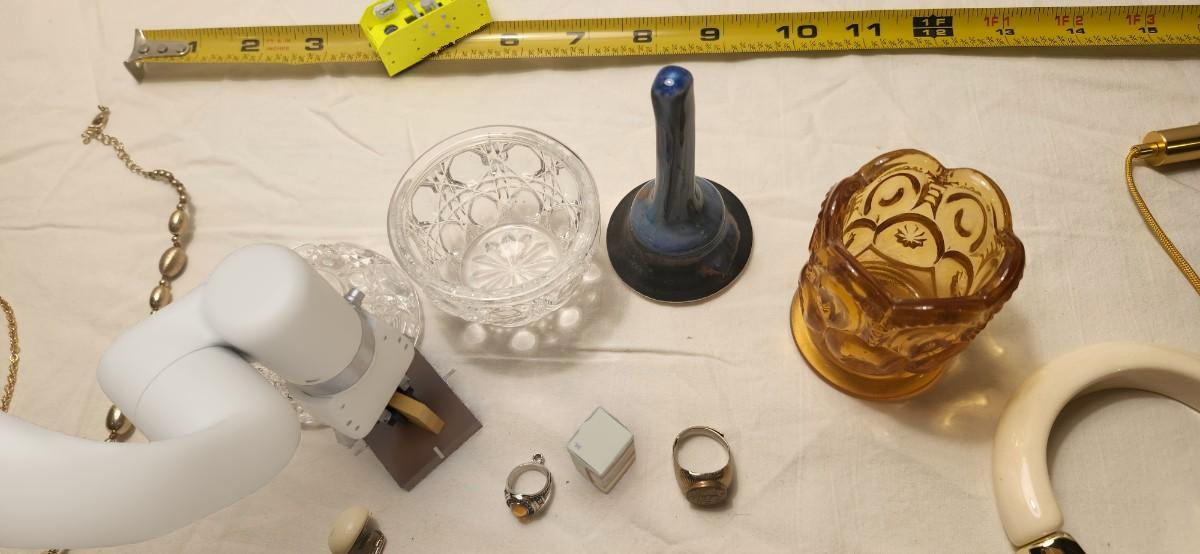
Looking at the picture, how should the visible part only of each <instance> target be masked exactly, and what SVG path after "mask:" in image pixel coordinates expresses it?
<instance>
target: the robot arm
mask: <svg viewBox="0 0 1200 554" xmlns="http://www.w3.org/2000/svg"><path fill="white" fill-rule="evenodd" d="M365 297H366V294H365V293H364V292H363V291H361V290H360V289H358V288H355V287H353V286H351V287H350V288H349V289H348V291H347V293H344V294H343V295H342V294H341V293H340V292H339V291H338V290H337V289H336V288H335V287H334V286H333V285H332V284H331V283H330V282H328V280H327V279H326V278H325V277H324V276H323V275H322V274H321V273H320V272H319V271H317V269H316V268H315V267H314V266H313V265H312V264H311V263H310V262H309V261H308V260H307V259H305V258H304V257H303V256H302V255H301V254H300V253H299V252H298V251H296V250H294V249H293V248H291V247H288V246H286V245H283V244H279V243H272V242H259V243H258V242H257V243H252V244H250V245H245V246H243V247H241V248H238V249H235V250H234V251H232V252H231V253H229V254H228V255H226V256H225V257H224V258H222V260H221V261H219V262H218V264H216V265H215V267H214V268H213V269H212V271H211V272H210V273H209V275H208V276H207V278H206V280H205V281H204V282H202V283H200V284H199V285H197V286H196V287H195V288H193V289H192V290H189V292H187V293H185V294H183V295H182V296H180V297H179V298H177V299H175V300H173V301H172V302H169V303H167V304H166V305H165V306H163V307H161V308H160V309H158V310H156V311H155V312H153V313H151V314H150V315H148V316H146V317H144V318H142V319H141V320H139V321H138V322H136V323H135V324H133V325H131V326H129V328H127V329H126V330H124V331H123V332H122V333H121V334H119V335H118V336H117V337H116V338H115V339H113V341H111V343H110V344H109V345H108V346H107V347H106V348H105V350H104V351H103V352H102V354H101V356H100V357H99V360H98V363H97V366H96V379H97V383H98V385H99V387H100V389H101V391H102V393H103V394H104V395H105V396H106V397H107V399H108V401H110V402H111V403H112V405H113V406H115V408H117V410H118V411H119V412H121V414H122V415H123V416H124V417H125V418H126V419H127V420H128V421H129V422H130V423H131V424H132V425H133V426H134V427H135V428H136V429H137V430H138V431H139V432H140V433H141V434H142V435H143V437H145V438H146V440H147V442H146V441H145V442H141V441H140V442H121V441H120V442H118V441H105V440H98V439H93V438H86V437H80V436H76V435H72V434H68V433H64V432H60V431H57V430H54V429H51V428H48V427H44V426H41V425H39V424H36V423H34V422H31V421H28V420H26V419H24V418H21V417H18V416H17V415H14V414H11V413H10V412H9V413H8V412H6V411H3V410H1V409H0V548H1V549H14V550H31V551H33V550H35V551H37V550H39V551H40V550H41V551H42V550H43V551H48V550H51V551H53V550H86V549H102V548H104V549H105V548H116V547H122V546H129V545H136V544H139V543H143V542H147V541H151V540H155V539H157V538H160V537H163V536H167V535H168V534H171V533H173V532H176V531H178V530H180V529H182V528H184V527H187V526H189V525H191V524H194V523H196V522H198V521H201V520H203V519H205V518H207V517H209V516H211V515H214V514H216V513H218V512H220V511H222V510H224V509H227V508H228V507H230V506H232V505H233V506H234V504H236V503H238V502H240V501H242V500H244V499H245V498H247V497H249V496H251V495H252V494H255V493H256V492H257V491H259V490H261V488H264V486H266V485H268V484H269V483H270V482H272V480H274V479H275V478H276V477H277V476H278V475H279V474H280V473H282V471H283V470H284V469H285V468H286V467H287V465H289V463H290V461H291V460H292V459H293V457H294V456H295V454H296V452H297V450H298V447H299V445H300V441H301V436H302V423H301V420H300V417H299V414H298V412H297V410H296V408H295V407H294V405H293V404H292V403H291V400H289V399H288V397H286V396H285V395H284V394H283V393H282V392H281V391H280V390H279V388H278V387H277V386H275V385H274V384H273V383H272V382H271V381H270V380H269V379H268V378H266V376H264V375H263V373H261V372H260V371H259V370H258V369H257V368H256V367H255V366H254V365H252V364H259V365H261V366H263V367H264V368H266V369H267V370H269V371H270V372H272V373H274V374H276V376H278V377H280V378H282V379H283V380H285V383H284V385H285V389H286V391H287V392H288V394H289V396H290V398H291V399H292V400H293V402H295V403H296V405H297V406H298V407H300V409H302V410H303V411H304V413H306V414H308V415H309V416H310V417H312V418H313V419H315V420H316V422H318V423H320V424H322V425H323V426H325V427H327V428H330V427H331V428H332V430H333V433H334V435H335V439H336V441H337V443H338V444H339V445H341V446H342V447H345V448H347V449H352V448H353V447H354V446H355V445H356V444H357V442H358V441H359V440H361V439H363V437H365V436H366V435H367V434H368V433H369V432H370V431H371V430H372V428H373V427H374V426H375V425H377V424H378V423H379V422H382V423H384V424H387V425H390V426H392V427H393V426H394V424H395V422H398V423H400V424H403V425H405V426H407V424H408V422H409V421H408V418H406V417H405V416H404V415H402V414H401V413H400V412H399V411H397V410H396V409H393V408H391V407H389V406H387V404H388V402H389V400H390V399H391V397H392V395H393V394H394V392H395V391H397V392H399V393H401V394H403V395H405V396H407V397H409V398H411V399H414V400H416V401H418V402H420V401H419V400H418V399H417V398H416V397H414V396H413V395H412V393H413V391H414V389H413V388H412V387H411V386H409V385H410V379H409V378H408V377H407V370H408V368H409V366H410V364H411V362H412V360H413V357H414V354H415V351H414V347H415V343H416V338H415V337H413V336H411V335H409V334H406V333H403V332H400V331H399V330H398V329H397V328H396V327H394V326H393V325H391V324H390V323H389V322H387V321H386V320H383V319H382V318H381V317H379V316H377V315H376V314H374V313H372V312H370V311H369V310H367V308H364V307H362V306H363V305H362V304H363V303H362V302H363V300H364V298H365ZM413 346H414V347H413Z"/></svg>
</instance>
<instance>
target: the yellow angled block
mask: <svg viewBox="0 0 1200 554" xmlns="http://www.w3.org/2000/svg"><path fill="white" fill-rule="evenodd" d="M387 406H389V407H391V408H393V409H396V410H397V411H399V412H400V413H401V414H402V415H404V416H405V417H406V418H408V421H410V422H412V423H414V424H416V425H418V426H420V427H422V428H425V429H427V430H429V431H431V432H433V433H435V434H437V435H438V434H439V433H440V431H441V429H442V427H443V426H444V424H445V423H444V422H443V421H442V420H441V419H440V418H439V417H438V416H437V415H435V414H434V413H433V412H432V411H431V410H430V409H429V408H428V407H426V406H425V405H424V404H422V403H420V402H418V401H416V400H414V399H411V398H409V397H407V396H405V395H403V394H401V393H399V392H397V391H395V392H394V394H393V395H392V397H391V399H390V400H389V402H388V404H387Z"/></svg>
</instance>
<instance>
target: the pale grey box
mask: <svg viewBox="0 0 1200 554" xmlns="http://www.w3.org/2000/svg"><path fill="white" fill-rule="evenodd" d="M565 448H566V449H567V452H568V455H569V456H570V458H571V461H572V463H573V465H574V467H575V469H576V470H577V471H578V472H579V473H580V474H581V475H582V476H583V477H584V478H585V479H586V480H588V482H590V483H591V484H592V485H593V486H595V487H596V488H597V489H598V490H599V491H601V492H602V493H603V494H605V495H608V494H609V493H610V492H611V491H612V490H613V488H614V487H615V486H616V485H617V484H618V482H619V481H621V479H622V478H623V476H624V475H625V474H626V473H627V471H628V470H629V469H630V467H631V466H632V465H633V464H634V462H635V460H636V458H637V454H636V446H635V436H634V433H633V432H632V430H630V429H629V428H628V427H627V426H626V425H625V424H624V423H622V422H621V421H620V420H619V419H618V418H617V417H615V416H614V415H613V414H612V413H611V412H610V411H608V410H607V409H606V408H605V407H603V406H602V405H598V406H597V407H596V408H595V410H594V411H592V412H591V414H590V415H589V416H588V417H587V418H586V420H585V421H584V422H583V423H582V424H581V425H580V426H579V428H578V429H577V430H576V432H575V433H574V434H573V435H572V437H571V438H570V439H569V440H568V442H567V443H566V445H565Z"/></svg>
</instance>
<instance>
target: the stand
mask: <svg viewBox="0 0 1200 554" xmlns="http://www.w3.org/2000/svg"><path fill="white" fill-rule="evenodd" d="M413 347H414V351H415V354H414V357H413V360H412V362H411V364H410V366H409V368H408V370H407V377H408V378H409V379H410V385H409V386H411V387H412V388H413V389H414V391H413V393H412V395H413V396H414V397H416V398H417V399H418V400H419V401H420V403H422V404H424V405H425V406H426V407H428V408H429V409H430V410H431V411H432V412H433V413H434V414H435V415H437V416H438V417H439V418H440V419H441V420H442V421H443V422H444V423H445V424H444V426H443V427H442V429H441V431H440V433H439V434H438V435H437V434H435V433H433V432H431V431H429V430H427V429H425V428H422V427H420V426H418V425H416V424H414V423H412V422H410V421H409V422H408V424H407V426H405V425H403V424H400V423H398V422H395V424H394V426H393V427H392V426H390V425H387V424H384V423H382V422H379V423H378V424H377V425H375V426H374V427H373V428H372V430H371V431H370V432H369V433H368V434H367V435H366V436H365V437H363V438H362V440H363V442H364V443H365V444H363V445H362V446H361V447H360V448H359V449H357V450H356V451H355V452H354V453H353V456H354V457H356V458H357V456H359V455H360V454H361V453H362V452H363V451H364V450H365V449H367V447H368V448H369V449H370V450H371V452H372V453H373V454H374V455H375V457H376V458H377V459H378V461H379V462H380V464H381V465H382V466H383V468H384V469H386V471H387V472H388V474H389V475H390V476H391V478H392V479H393V480H394V481H395V483H396V484H397V485H398V486H399V488H400V489H402V490H404V491H406V492H407V493H408V492H411V490H413V489H414V488H415V487H416V486H417V485H418V484H420V482H422V481H423V480H424V479H425V478H426V477H428V475H429V474H431V473H432V472H433V471H434V470H435V469H436V468H438V466H440V465H441V464H442V463H443V462H444V461H445V460H446V459H448V458H449V457H450V456H451V455H452V454H453V453H454V452H455V451H457V450H458V449H459V448H460V447H461V446H462V445H463V444H465V443H466V442H467V441H468V440H469V439H470V438H471V437H472V436H473V435H474V434H476V433H477V432H478V431H479V430H480V429H481V428H483V424H482V423H481V421H480V420H479V419H478V418H477V417H476V416H475V415H474V413H472V411H471V410H470V409H469V408H468V406H467V405H466V404H465V403H464V401H463V400H461V398H460V397H459V396H458V395H457V394H456V392H454V390H453V389H452V388H451V387H450V386H449V385H448V383H447V382H446V380H447V379H448V378H449V377H451V376H452V375H453V374H454V373H455V372H456V369H454V368H452V369H450V371H448V372H447V373H446V374H445V375H444V376H441V375H440V374H439V373H438V372H437V370H436V369H435V368H434V367H433V366H432V365H431V364H430V363H429V361H428V360H427V359H426V358H425V357H424V355H423V354H422V353H421V351H419V350H418V349H417V348H416V347H415V345H414V346H413Z"/></svg>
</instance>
